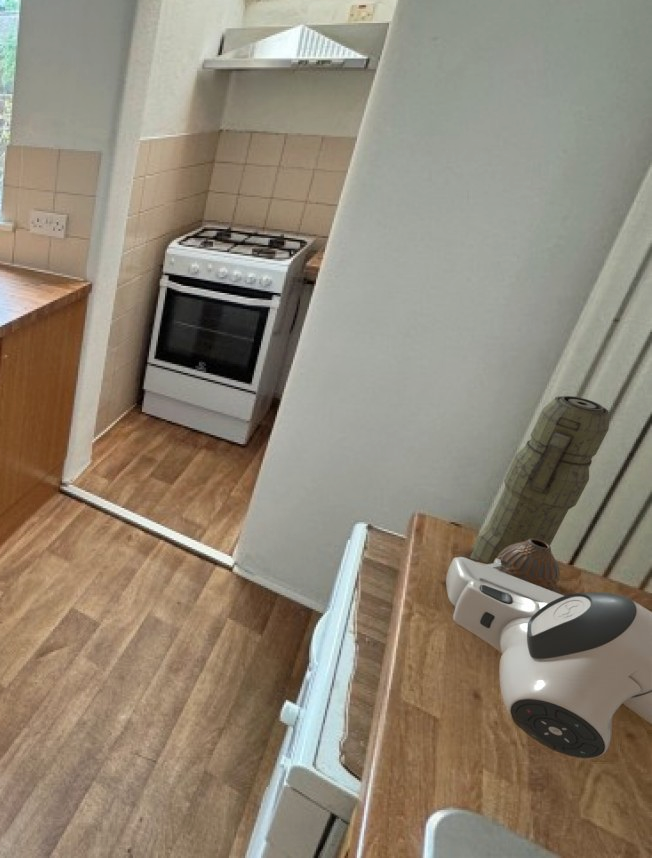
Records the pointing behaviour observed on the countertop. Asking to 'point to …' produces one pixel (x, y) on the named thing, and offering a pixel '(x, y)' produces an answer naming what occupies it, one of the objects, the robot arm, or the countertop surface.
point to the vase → (532, 563)
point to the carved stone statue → (545, 476)
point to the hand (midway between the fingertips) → (545, 581)
